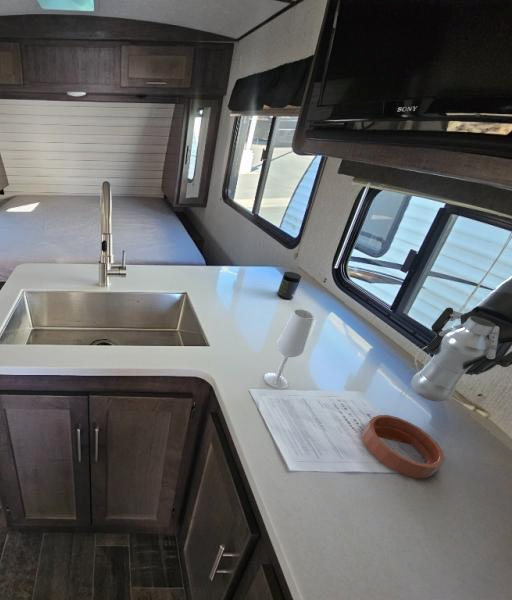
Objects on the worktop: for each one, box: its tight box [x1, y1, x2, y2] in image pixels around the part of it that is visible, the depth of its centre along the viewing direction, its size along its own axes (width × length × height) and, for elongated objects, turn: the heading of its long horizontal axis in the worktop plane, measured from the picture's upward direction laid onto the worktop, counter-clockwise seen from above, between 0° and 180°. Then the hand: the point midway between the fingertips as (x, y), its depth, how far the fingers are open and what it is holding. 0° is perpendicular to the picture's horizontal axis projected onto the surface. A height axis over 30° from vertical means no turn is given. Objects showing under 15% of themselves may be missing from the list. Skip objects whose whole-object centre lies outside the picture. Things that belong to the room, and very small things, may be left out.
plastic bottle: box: [410, 317, 495, 402], centre depth 67 cm, size 6×7×20 cm
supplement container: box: [277, 271, 302, 300], centre depth 139 cm, size 7×7×10 cm
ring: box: [361, 414, 445, 479], centre depth 75 cm, size 14×14×6 cm
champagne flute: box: [263, 308, 315, 390], centre depth 90 cm, size 7×7×24 cm
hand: (448, 361), depth 66 cm, fingers closed on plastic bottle, 6 cm apart
